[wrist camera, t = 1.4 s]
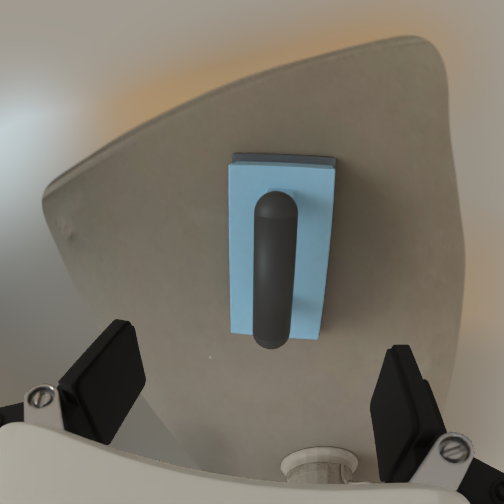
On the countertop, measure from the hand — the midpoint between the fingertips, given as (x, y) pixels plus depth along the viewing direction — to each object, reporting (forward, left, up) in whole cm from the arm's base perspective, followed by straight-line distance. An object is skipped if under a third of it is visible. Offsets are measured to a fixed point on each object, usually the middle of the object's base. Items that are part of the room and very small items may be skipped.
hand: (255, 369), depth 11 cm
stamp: (+1, 0, -14) cm, 14 cm away
